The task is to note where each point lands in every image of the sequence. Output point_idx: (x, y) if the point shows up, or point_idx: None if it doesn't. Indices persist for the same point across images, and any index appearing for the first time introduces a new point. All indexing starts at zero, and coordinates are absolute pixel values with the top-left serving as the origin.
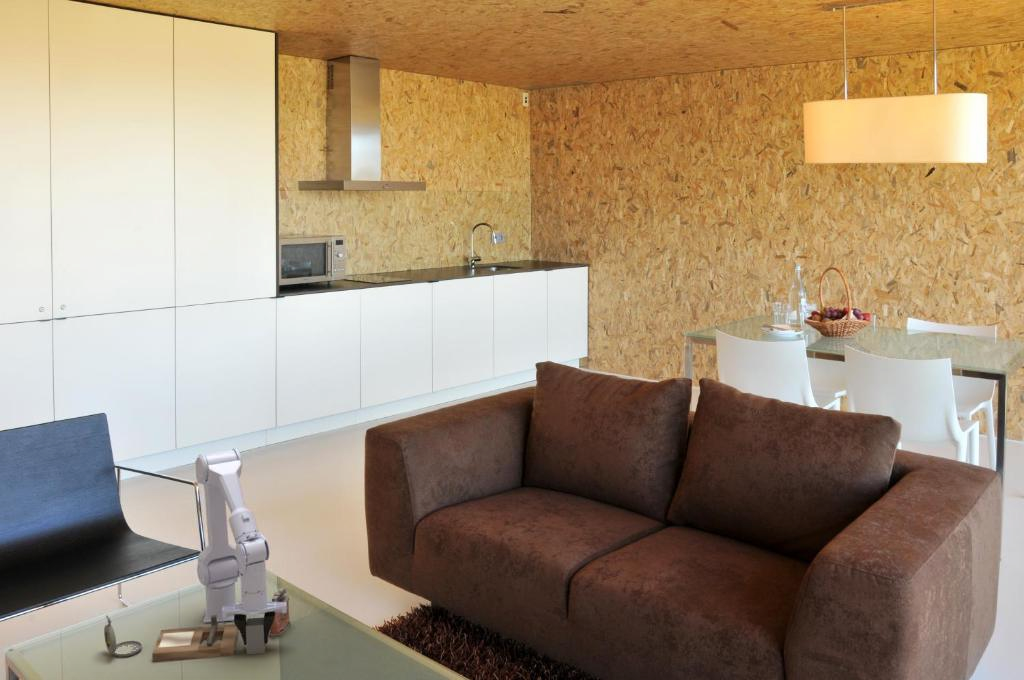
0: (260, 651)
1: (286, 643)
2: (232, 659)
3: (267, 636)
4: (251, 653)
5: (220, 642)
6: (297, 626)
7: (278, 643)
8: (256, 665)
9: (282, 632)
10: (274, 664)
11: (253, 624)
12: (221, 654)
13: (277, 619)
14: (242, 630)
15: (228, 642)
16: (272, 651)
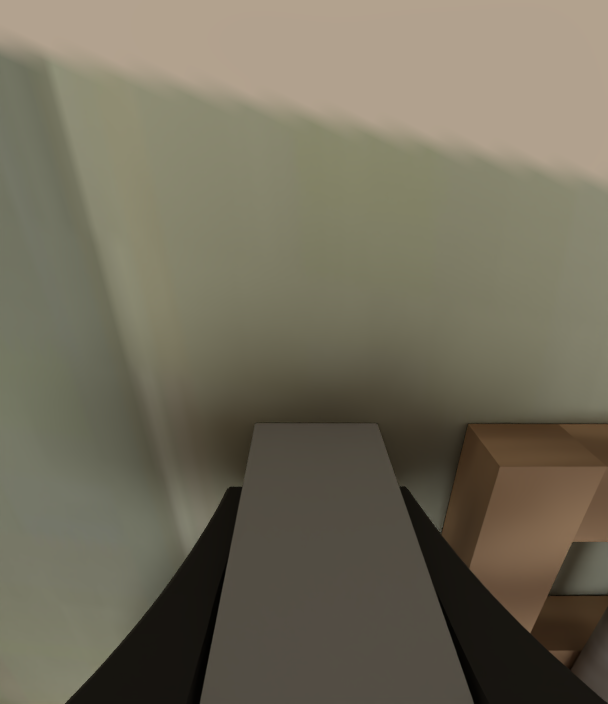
0: (281, 430)
1: (127, 509)
2: (482, 370)
3: (203, 537)
4: (345, 425)
5: (579, 540)
6: (113, 644)
7: (180, 515)
8: (298, 238)
9: None
10: (142, 226)
11: None
12: (558, 432)
13: None
14: (488, 631)
15: (523, 532)
16: (200, 431)
